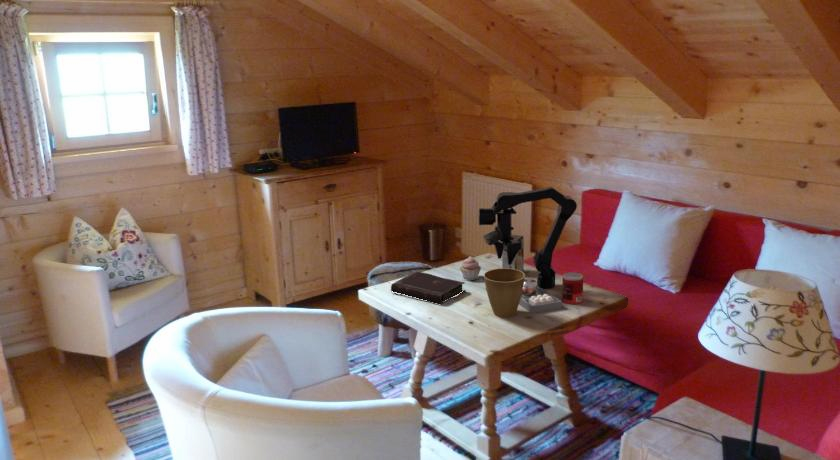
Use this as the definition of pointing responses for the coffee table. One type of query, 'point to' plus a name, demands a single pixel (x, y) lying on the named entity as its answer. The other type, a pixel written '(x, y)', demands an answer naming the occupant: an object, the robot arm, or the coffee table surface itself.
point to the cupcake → (470, 269)
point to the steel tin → (529, 288)
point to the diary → (427, 287)
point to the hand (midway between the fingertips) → (504, 261)
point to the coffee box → (519, 258)
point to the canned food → (572, 288)
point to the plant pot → (504, 290)
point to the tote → (541, 307)
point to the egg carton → (540, 299)
